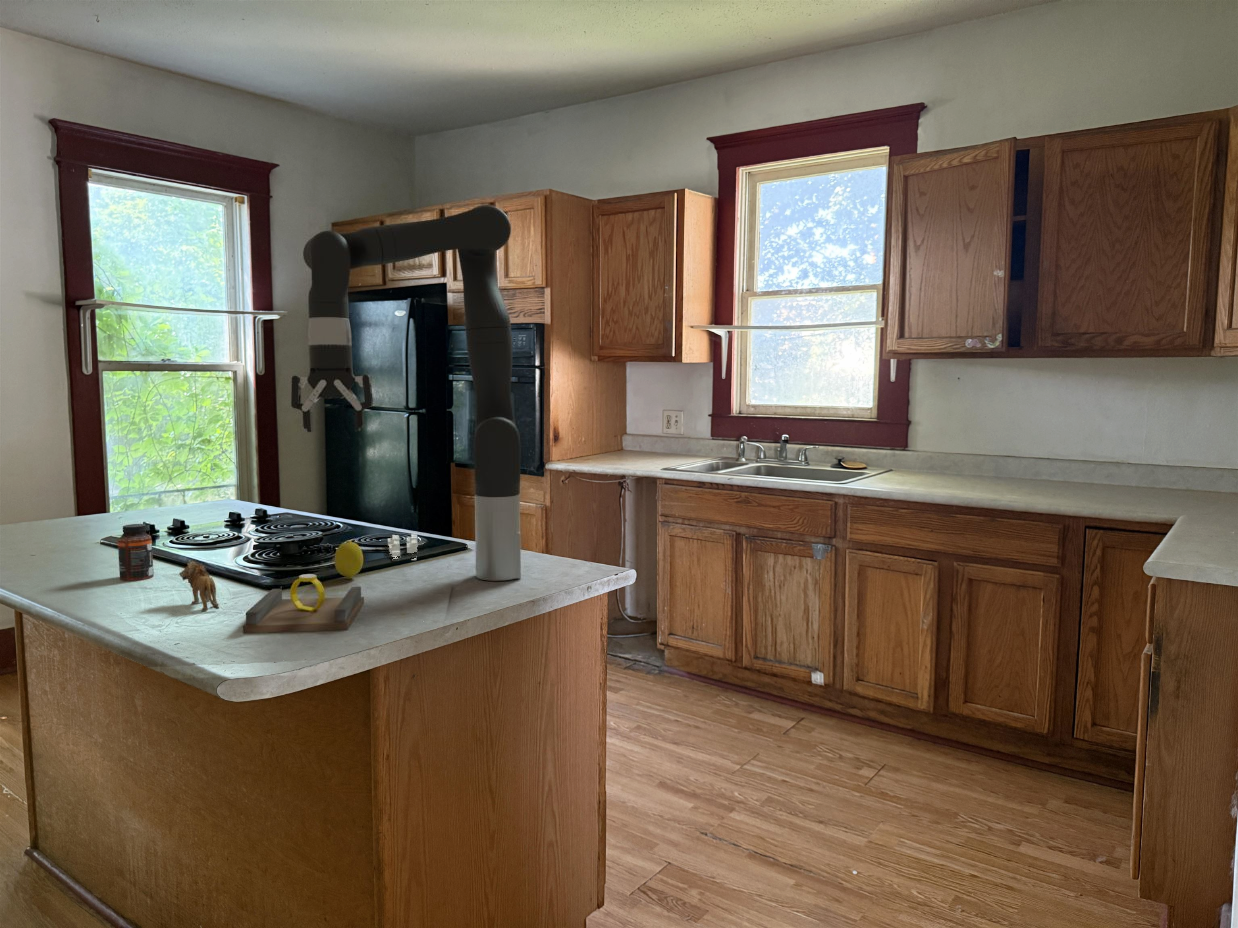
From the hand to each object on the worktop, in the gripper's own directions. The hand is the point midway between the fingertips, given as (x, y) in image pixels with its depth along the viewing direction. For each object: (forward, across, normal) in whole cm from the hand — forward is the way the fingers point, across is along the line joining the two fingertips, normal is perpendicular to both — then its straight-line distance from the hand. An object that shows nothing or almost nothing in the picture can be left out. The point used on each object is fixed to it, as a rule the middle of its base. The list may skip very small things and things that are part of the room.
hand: (333, 431), depth 157 cm
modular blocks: (+32, -8, -36) cm, 49 cm away
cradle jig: (+31, +3, +17) cm, 35 cm away
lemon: (+31, 0, -12) cm, 33 cm away
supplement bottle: (+30, +42, -17) cm, 55 cm away
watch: (+30, +3, +17) cm, 34 cm away
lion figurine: (+31, +22, +6) cm, 38 cm away
